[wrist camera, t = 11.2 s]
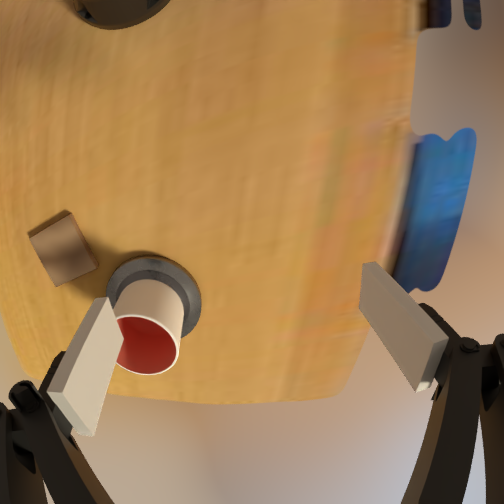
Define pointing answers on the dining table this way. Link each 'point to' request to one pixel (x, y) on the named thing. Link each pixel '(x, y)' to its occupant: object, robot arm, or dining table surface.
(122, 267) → the grey plate
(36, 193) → the dining table surface
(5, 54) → the dining table surface
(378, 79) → the dining table surface
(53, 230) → the oak coaster
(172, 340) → the cup
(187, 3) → the dining table surface
